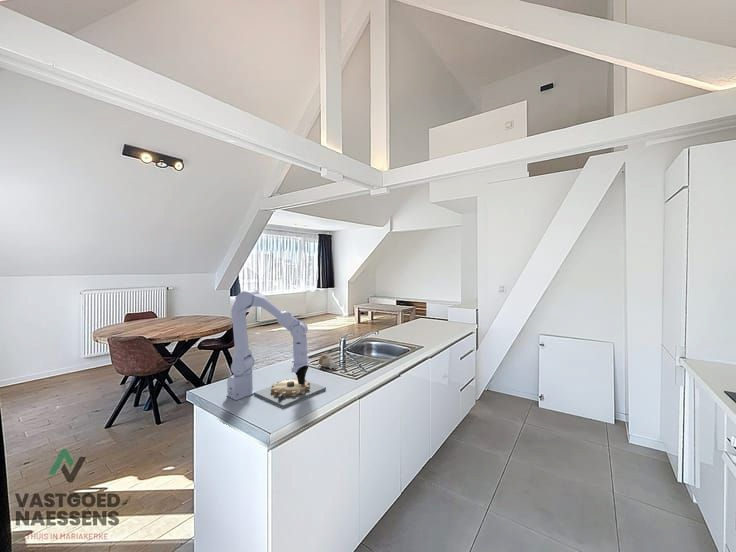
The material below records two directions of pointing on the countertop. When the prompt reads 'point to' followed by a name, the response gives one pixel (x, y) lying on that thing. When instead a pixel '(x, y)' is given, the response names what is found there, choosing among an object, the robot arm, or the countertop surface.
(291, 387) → the sprocket
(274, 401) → the base board
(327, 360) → the beige rounded lump
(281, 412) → the countertop surface
